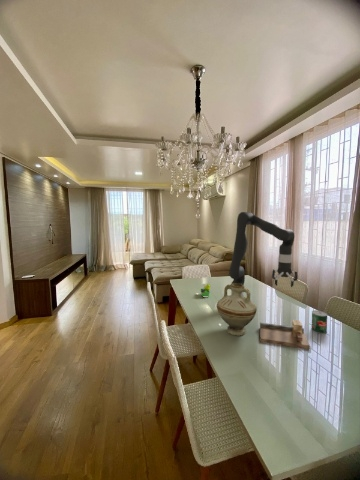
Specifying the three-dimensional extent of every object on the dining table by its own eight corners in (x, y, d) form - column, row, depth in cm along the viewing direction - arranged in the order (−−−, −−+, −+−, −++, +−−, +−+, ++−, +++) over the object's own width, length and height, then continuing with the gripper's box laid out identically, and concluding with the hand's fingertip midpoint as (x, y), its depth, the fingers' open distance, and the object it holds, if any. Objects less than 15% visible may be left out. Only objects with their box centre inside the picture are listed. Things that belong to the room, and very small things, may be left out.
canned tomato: (322, 335, 123) (323, 317, 122) (308, 329, 130) (309, 312, 129) (329, 331, 127) (329, 313, 126) (315, 325, 134) (315, 309, 133)
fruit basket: (200, 293, 200) (200, 282, 199) (209, 293, 199) (209, 282, 198) (201, 298, 188) (201, 286, 187) (211, 298, 188) (210, 285, 187)
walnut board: (260, 341, 118) (260, 334, 118) (260, 328, 133) (260, 321, 133) (309, 349, 110) (309, 341, 110) (302, 333, 125) (303, 327, 125)
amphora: (262, 341, 120) (266, 289, 119) (223, 342, 116) (226, 289, 115) (243, 324, 143) (246, 280, 143) (210, 324, 139) (212, 279, 139)
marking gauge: (296, 342, 113) (296, 329, 113) (292, 331, 125) (292, 319, 124) (304, 343, 112) (304, 331, 112) (299, 332, 123) (300, 320, 123)
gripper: (273, 261, 131) (272, 286, 133) (298, 263, 126) (297, 289, 128) (272, 259, 138) (271, 283, 140) (296, 260, 133) (295, 285, 135)
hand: (283, 286), depth 134 cm, fingers open, 8 cm apart
